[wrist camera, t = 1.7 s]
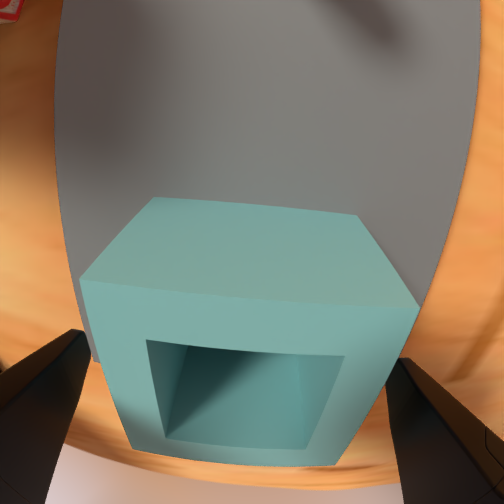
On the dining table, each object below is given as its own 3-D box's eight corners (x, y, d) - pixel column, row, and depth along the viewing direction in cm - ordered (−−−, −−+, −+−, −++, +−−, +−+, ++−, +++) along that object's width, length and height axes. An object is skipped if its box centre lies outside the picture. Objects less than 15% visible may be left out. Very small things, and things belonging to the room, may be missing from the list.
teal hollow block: (318, 361, 13) (335, 465, 9) (163, 348, 13) (132, 448, 8) (357, 215, 10) (419, 308, 6) (153, 196, 10) (79, 279, 5)
